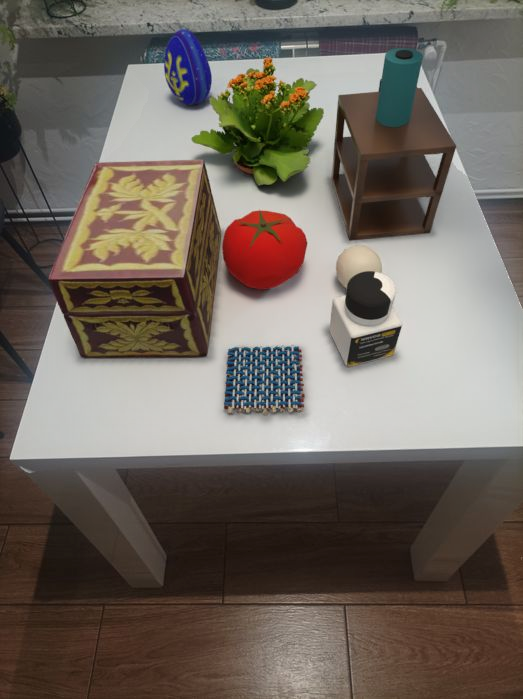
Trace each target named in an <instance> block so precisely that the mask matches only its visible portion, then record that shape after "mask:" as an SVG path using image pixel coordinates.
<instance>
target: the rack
mask: <svg viewBox="0 0 523 699" xmlns="http://www.w3.org/2000/svg"><path fill="white" fill-rule="evenodd" d="M379 93H380V92H378V91H369V92H359V93H348V94H347V93H346V94H339V95H338V96H337V107H336V108H337V109H336V121H335V132H334V145H333V156H332V157H333V158H332V167H331V183H332V187H333V190H334V193H335V196H336V199H337V200H336V201H337V202H338V206H339V210H340V213H341V216H342V220H343V223H344V227H345V230H346V233H347V237H348V240H349V241H358V240H369V239H370V240H371V239H380V238H381V239H382V238H392V237H402V236H412V235H422V234H431V231H432V228H433V224H434V221H435V219H436V214H437V212H438V207H439V205H440V202H441V199H442V195H443V192H444V188H445V184H446V182H447V179H448V175H449V173H450V168H451V165H452V162H453V159H454V156H455V152H456V149H457V145H456V143H455V141H454V139H453V138H452V136H451V135H450V133H449V131H448V129H447V128H446V126H445V125H444V123H443V121H442V119H441V118H440V116H439V115H438V113H437V111H436V110H435V108H434V107H433V105H432V103H431V102H430V100H429V98H428V97H427V95H426V93H425V92H424V90H423V88H422V87H417V88H416V92H415V97H414V102H413V106H412V111H411V116H410V120H409V122H408V123H407V124H406V125H404V126H400V127H387V126H384V125H381V124H380V123H378V122H377V120H376V112H377V106H378V99H379ZM345 123H346V127H347V129H348V132H349V135H350V136H344V130H345ZM440 154H442V155H441V159H440V162H439V165H438V169H437V173H436V174H435V173H434V171H433V169H432V167H431V165H430V163H429V161H428V160H427V158H426V156H427V155H440ZM341 168H342V170H343V173H341V172H340V171H341ZM421 198H429V201H428V204H427V207H426V212H424V209H423V207H422V205H421V203H420V201H419V199H421Z"/></svg>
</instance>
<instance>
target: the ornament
mask: <svg viewBox="0 0 523 699" xmlns="http://www.w3.org/2000/svg"><path fill="white" fill-rule="evenodd" d="M163 64H164V65H163V69H164V77H165V82H166V83H167V86H168V88H169V90H170V92H171V93H172V94H173V96H175V98H176V99H177V100H178V101H180V102H181V103H183V104H185V105H188V106H193V105H198V104H200V103H202V102H203V101H205V100H206V99H207V98H208V96H209V94H210V92H211V89H212V84H213V83H212V81H213V80H212V79H213V76H212V70H211V66H210V64H209V61H208V58H207V55H206V53H205V51H204V48H203V47H202V45H201V43H200V42H199V40H198V38H197V37H196V36H195V35H194V34H193V33H192V32H191V31H190V30H189V29H186V28H182V29H179V30H177V31H176V32H175V33H174V34H172V36H170V38H169V40H168V42H167V45H166V49H165V52H164V60H163Z"/></svg>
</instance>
